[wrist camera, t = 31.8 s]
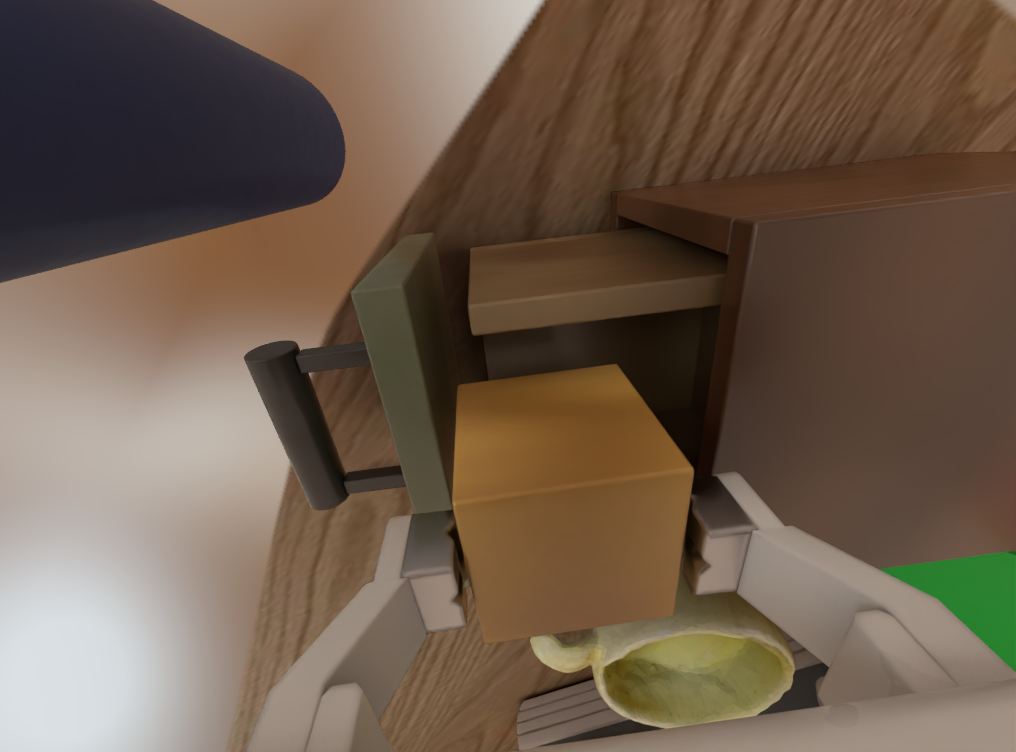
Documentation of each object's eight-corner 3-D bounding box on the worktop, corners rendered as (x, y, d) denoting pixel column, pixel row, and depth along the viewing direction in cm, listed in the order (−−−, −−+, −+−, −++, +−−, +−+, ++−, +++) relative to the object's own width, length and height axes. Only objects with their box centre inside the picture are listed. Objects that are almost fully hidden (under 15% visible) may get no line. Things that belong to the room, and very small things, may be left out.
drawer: (359, 460, 21) (301, 610, 14) (285, 249, 16) (138, 316, 9) (692, 418, 21) (799, 543, 14) (720, 197, 16) (906, 223, 9)
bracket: (906, 512, 25) (903, 460, 30) (851, 593, 29) (856, 535, 33) (1254, 650, 18) (1179, 554, 23) (1125, 733, 22) (1083, 636, 27)
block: (479, 503, 13) (484, 646, 9) (456, 383, 11) (450, 503, 7) (614, 483, 13) (675, 617, 9) (617, 362, 11) (696, 469, 7)
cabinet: (607, 427, 22) (691, 595, 13) (610, 191, 17) (755, 222, 8) (856, 395, 22) (1093, 541, 14) (939, 152, 17) (1418, 142, 8)
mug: (794, 517, 23) (869, 745, 16) (684, 577, 30) (700, 756, 23) (599, 435, 23) (584, 634, 15) (532, 516, 29) (498, 680, 22)
